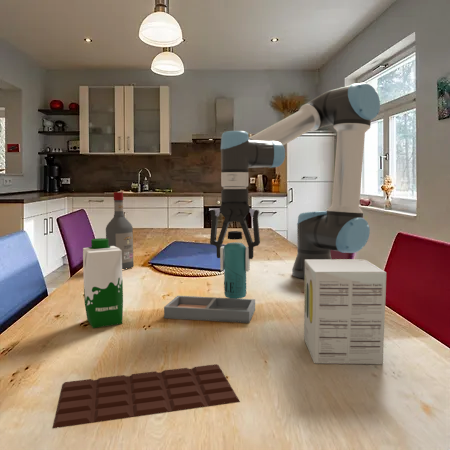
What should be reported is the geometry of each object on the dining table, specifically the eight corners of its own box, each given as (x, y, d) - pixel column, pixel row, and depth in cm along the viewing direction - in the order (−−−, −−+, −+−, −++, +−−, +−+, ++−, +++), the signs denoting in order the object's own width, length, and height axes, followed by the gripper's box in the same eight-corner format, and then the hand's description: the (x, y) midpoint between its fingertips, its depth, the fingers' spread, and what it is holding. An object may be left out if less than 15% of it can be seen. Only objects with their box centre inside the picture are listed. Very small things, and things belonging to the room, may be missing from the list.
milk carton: (118, 314, 111) (115, 237, 109) (127, 324, 103) (124, 241, 101) (82, 319, 107) (79, 239, 105) (89, 330, 99) (86, 244, 97)
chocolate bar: (52, 431, 60) (52, 424, 60) (62, 386, 73) (62, 381, 72) (239, 404, 67) (239, 398, 66) (218, 368, 80) (218, 362, 79)
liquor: (137, 267, 173) (135, 192, 170) (120, 271, 165) (117, 192, 162) (120, 265, 178) (118, 191, 175) (103, 268, 170) (101, 192, 167)
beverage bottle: (249, 298, 125) (249, 230, 123) (242, 305, 119) (242, 232, 117) (228, 297, 127) (227, 229, 125) (220, 303, 121) (220, 232, 119)
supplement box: (302, 338, 93) (303, 258, 92) (364, 339, 93) (366, 258, 91) (313, 364, 80) (314, 271, 78) (384, 365, 80) (388, 271, 78)
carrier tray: (255, 309, 114) (255, 299, 114) (249, 323, 103) (249, 311, 103) (177, 305, 119) (177, 295, 118) (164, 318, 108) (163, 307, 107)
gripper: (197, 188, 118) (198, 271, 120) (268, 188, 114) (268, 274, 116) (204, 188, 125) (204, 266, 128) (271, 187, 122) (270, 268, 124)
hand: (235, 269), depth 122 cm, fingers closed on beverage bottle, 6 cm apart
